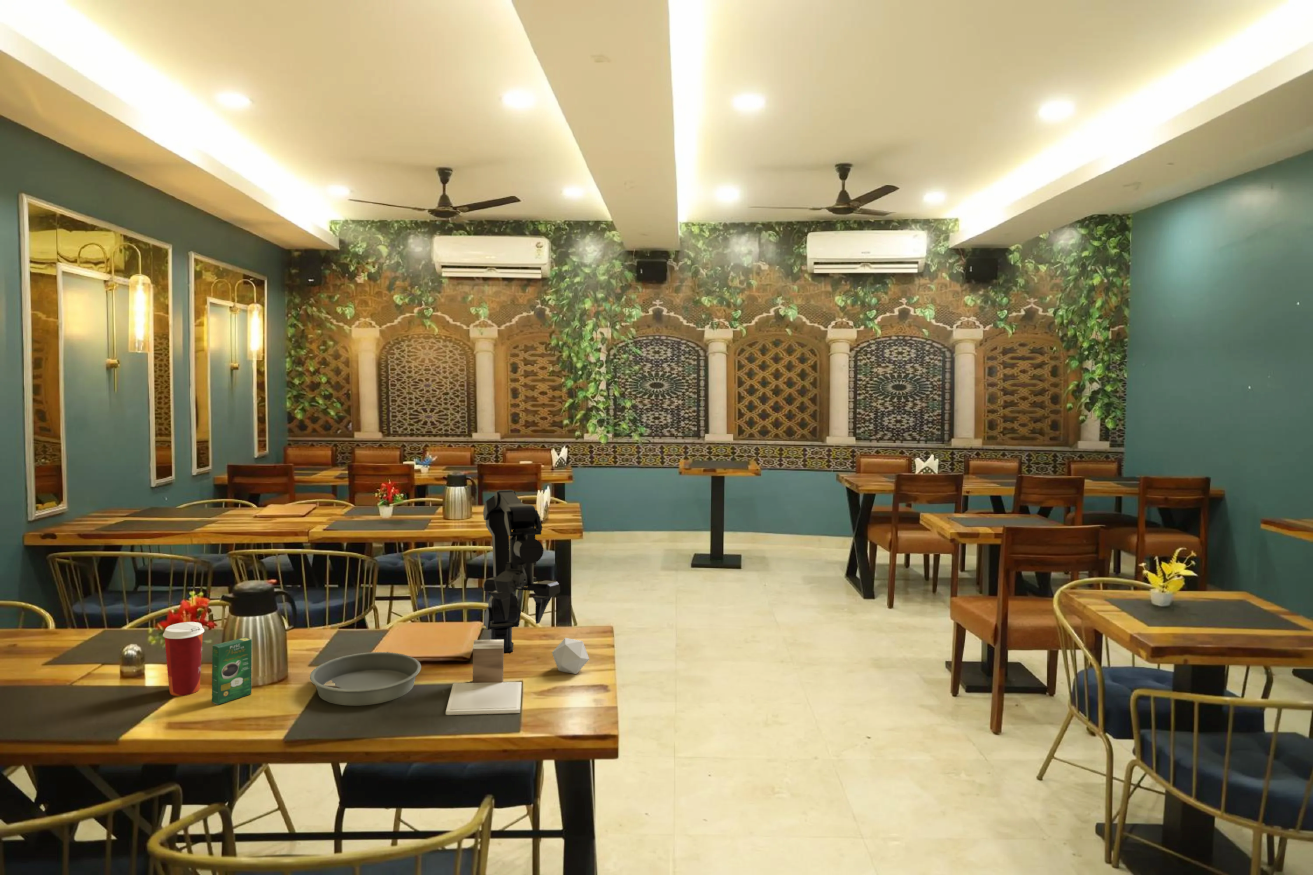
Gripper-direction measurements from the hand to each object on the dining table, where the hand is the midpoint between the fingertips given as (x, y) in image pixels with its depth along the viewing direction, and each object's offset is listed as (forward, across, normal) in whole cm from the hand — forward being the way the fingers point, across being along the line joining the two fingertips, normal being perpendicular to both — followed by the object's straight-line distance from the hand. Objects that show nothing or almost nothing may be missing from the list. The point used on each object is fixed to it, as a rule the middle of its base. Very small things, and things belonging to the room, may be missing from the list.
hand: (521, 621), depth 203 cm
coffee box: (+14, -51, -40) cm, 66 cm away
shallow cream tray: (+15, -1, -13) cm, 20 cm away
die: (+14, +7, +12) cm, 20 cm away
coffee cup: (+13, -63, -42) cm, 77 cm away
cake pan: (+14, -30, -21) cm, 39 cm away
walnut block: (+14, -6, -5) cm, 16 cm away
